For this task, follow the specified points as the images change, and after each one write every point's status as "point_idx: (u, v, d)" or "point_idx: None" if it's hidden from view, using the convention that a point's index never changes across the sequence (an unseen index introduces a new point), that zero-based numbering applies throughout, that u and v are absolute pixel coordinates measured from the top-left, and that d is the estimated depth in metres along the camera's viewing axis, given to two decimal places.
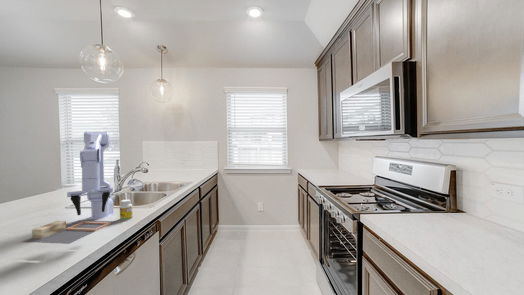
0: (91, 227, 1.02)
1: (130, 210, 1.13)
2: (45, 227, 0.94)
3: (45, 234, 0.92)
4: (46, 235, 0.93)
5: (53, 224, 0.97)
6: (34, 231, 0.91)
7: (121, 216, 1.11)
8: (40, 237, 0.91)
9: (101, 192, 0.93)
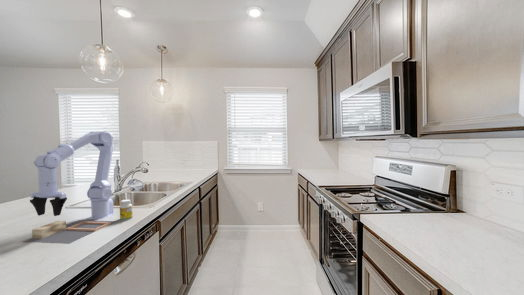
0: (91, 227, 1.02)
1: (130, 210, 1.13)
2: (45, 227, 0.94)
3: (45, 234, 0.92)
4: (46, 235, 0.93)
5: (53, 224, 0.97)
6: (34, 231, 0.91)
7: (121, 216, 1.11)
8: (40, 237, 0.91)
9: (55, 196, 0.95)
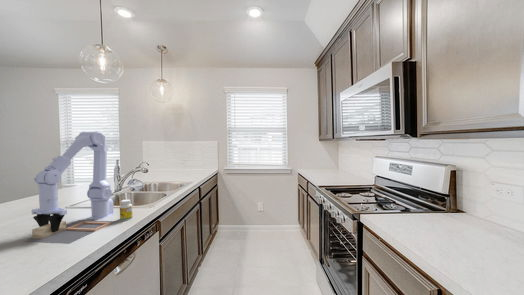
0: (91, 227, 1.02)
1: (130, 210, 1.13)
2: (45, 227, 0.94)
3: (45, 234, 0.92)
4: (46, 235, 0.93)
5: None
6: (34, 231, 0.91)
7: (121, 216, 1.11)
8: (40, 237, 0.91)
9: (55, 213, 0.95)
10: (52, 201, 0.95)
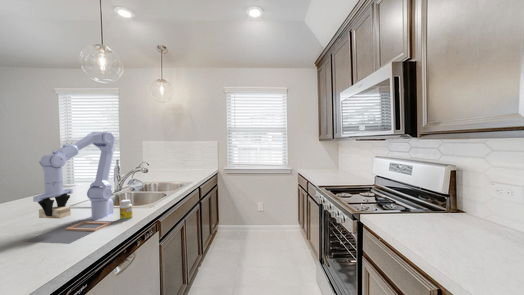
0: (91, 227, 1.02)
1: (130, 210, 1.13)
2: None
3: (41, 215, 0.95)
4: (42, 216, 0.95)
5: (54, 208, 0.96)
6: None
7: (121, 216, 1.11)
8: None
9: None
10: (45, 185, 0.94)
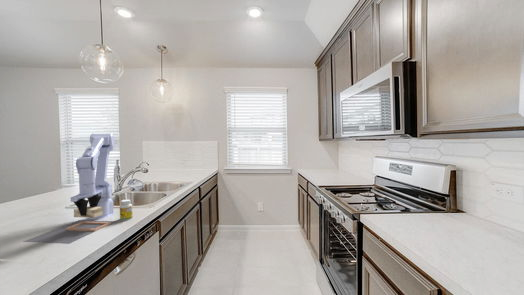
0: (91, 227, 1.02)
1: (130, 210, 1.13)
2: None
3: (76, 214, 1.01)
4: (77, 216, 1.01)
5: (88, 208, 1.02)
6: None
7: (121, 216, 1.11)
8: None
9: None
10: (80, 186, 1.00)
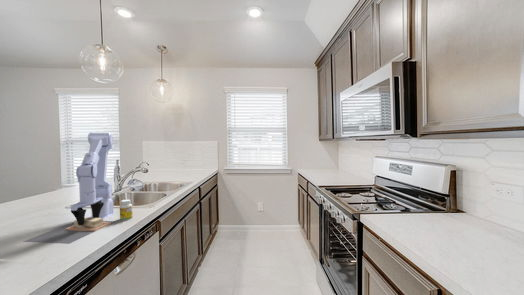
0: None
1: (130, 210, 1.13)
2: None
3: (77, 226, 1.01)
4: (77, 227, 1.01)
5: (89, 219, 1.02)
6: None
7: (121, 216, 1.11)
8: None
9: None
10: (80, 194, 1.00)
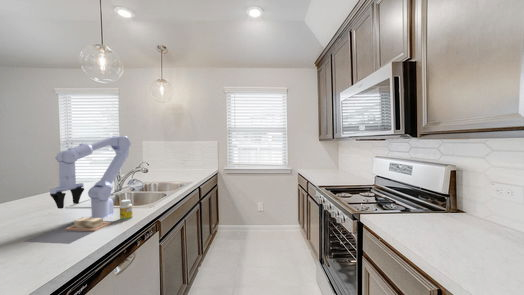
0: None
1: (130, 210, 1.13)
2: (82, 219, 1.02)
3: (77, 226, 1.01)
4: (77, 227, 1.01)
5: (89, 219, 1.02)
6: None
7: (121, 216, 1.11)
8: None
9: None
10: (60, 179, 1.03)
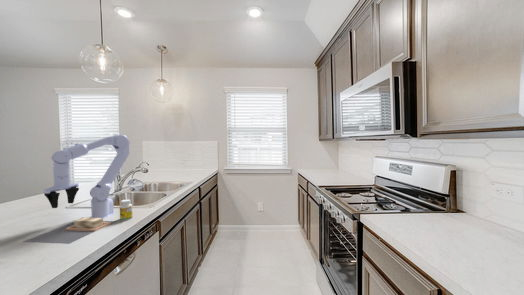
0: None
1: (130, 210, 1.13)
2: (82, 219, 1.02)
3: (77, 226, 1.01)
4: (77, 227, 1.01)
5: (89, 219, 1.02)
6: None
7: (121, 216, 1.11)
8: None
9: None
10: (54, 178, 1.04)
